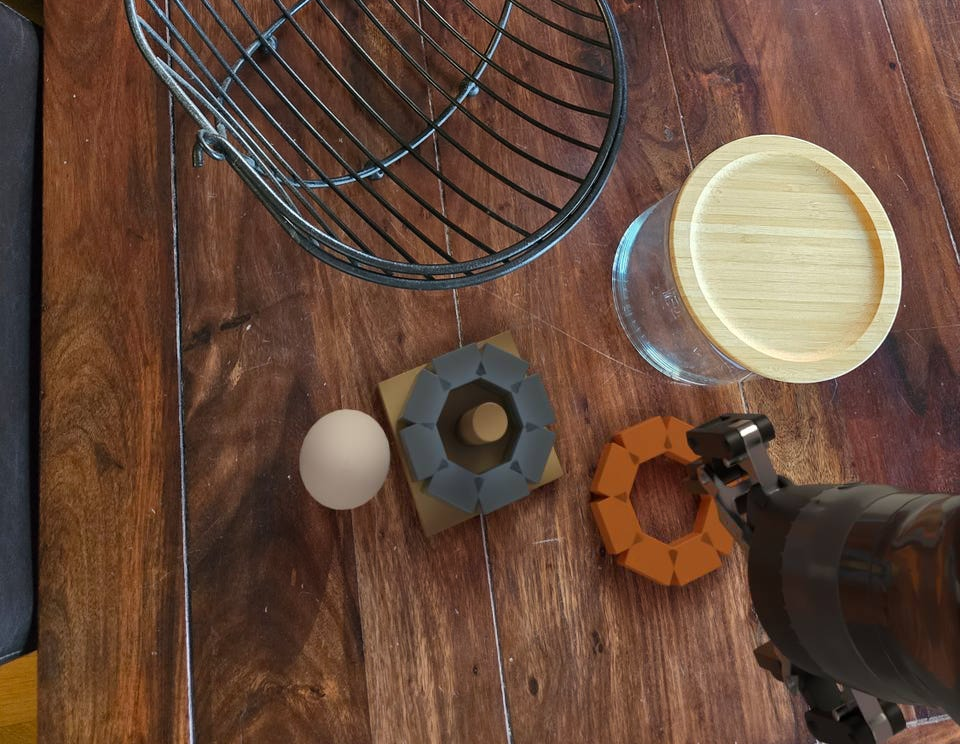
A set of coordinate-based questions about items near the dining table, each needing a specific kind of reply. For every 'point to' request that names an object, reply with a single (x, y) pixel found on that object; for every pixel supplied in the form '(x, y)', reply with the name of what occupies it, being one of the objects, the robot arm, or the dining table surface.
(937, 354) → the dining table surface
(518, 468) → the ring stack
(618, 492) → the orange ring
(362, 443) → the egg
